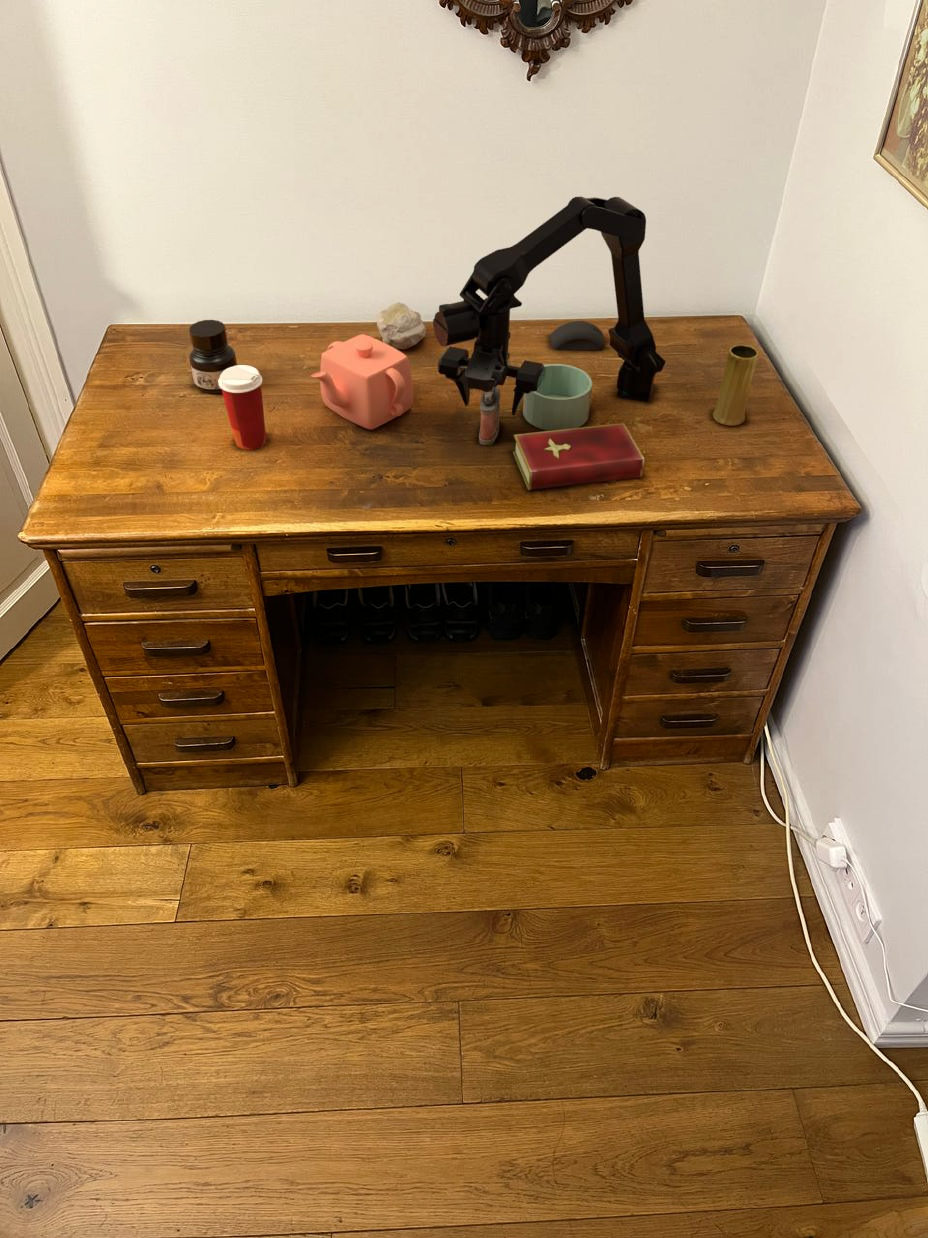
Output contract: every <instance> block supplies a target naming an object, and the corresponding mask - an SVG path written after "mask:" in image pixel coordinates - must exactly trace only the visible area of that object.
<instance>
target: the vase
mask: <svg viewBox="0 0 928 1238" xmlns="http://www.w3.org/2000/svg"><path fill="white" fill-rule="evenodd" d="M758 357H759V351H758V349H757V348H756V347H754V346H751V345H749V344H735V345H732V346H730V348H729V351H728V354H727V359H726V363H725V367H724V371H723V376H722V379H721V384H720V388H719V393H718V397H717V401H716V403H715V408H714V410H713V412H712V417H713V419H714V421H716V422H717V423H718V424H721V425H723V426H729V427H735V426H739V425H741V424H743V423H744V422H745V420H746V410H747V405H748V401H749V397H750V391H751V387H752V381H753V377H754V374H755V370H756V366H757V362H758Z"/></svg>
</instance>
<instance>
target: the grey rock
mask: <svg viewBox="0 0 928 1238" xmlns="http://www.w3.org/2000/svg"><path fill="white" fill-rule="evenodd" d="M376 315H377V321H376V327H377V329H378V331H379V332H378V333H379V335H380V336H381V338H382V342H383V343H386V344H387V345H389V346H391V347H393V348H395V349H397V350H407V349H409V348H411V347H413V346H415V345H417V344H418V343H419V342H420V341H421V340H423V338H425V337H426V331H427V327H426V326H425V324H424V322H423V320H422V316H421V314H420V312H418V311H415V310H413V309H411V308H410V307H409V306H408V305H407V304H405V303H404V302H400V301H397V302H396V303H393V304H391V305H390V306H388V307H387V308H385V309H384V310H381V311H379V312H378V313H377V314H376Z"/></svg>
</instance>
